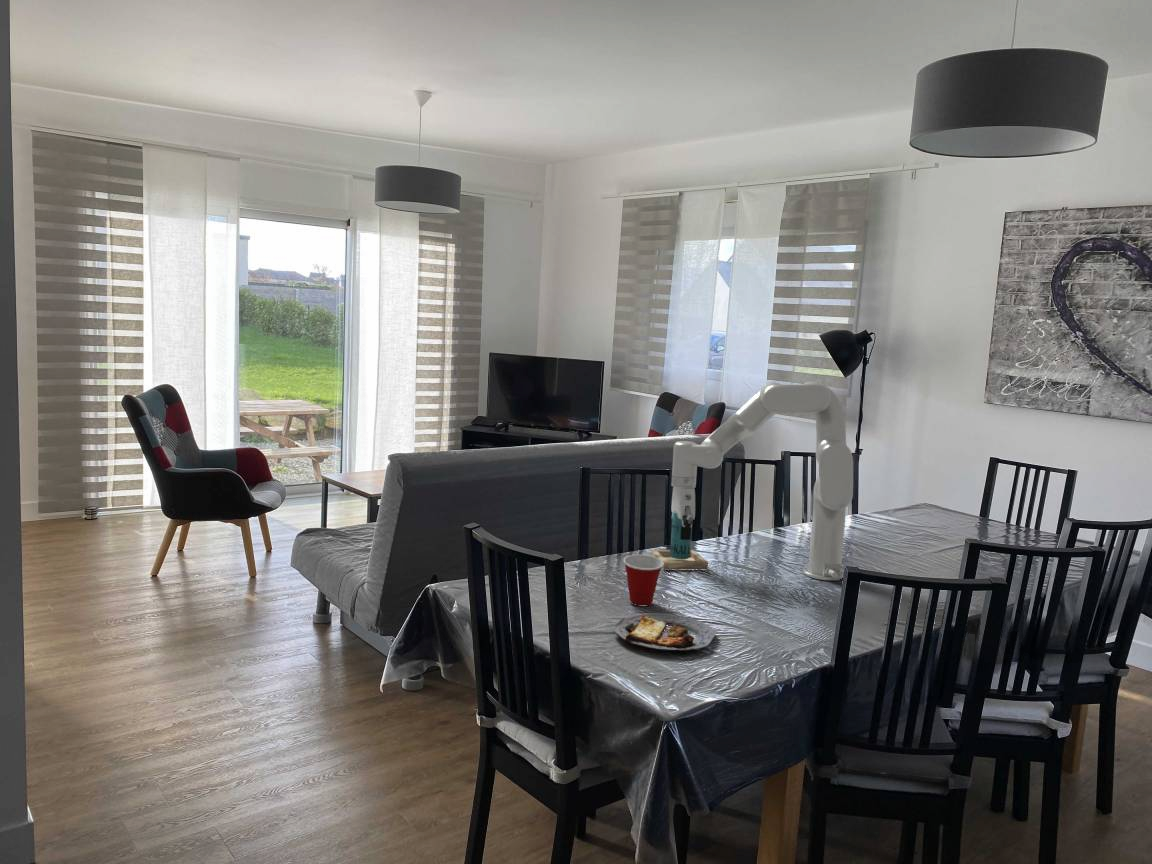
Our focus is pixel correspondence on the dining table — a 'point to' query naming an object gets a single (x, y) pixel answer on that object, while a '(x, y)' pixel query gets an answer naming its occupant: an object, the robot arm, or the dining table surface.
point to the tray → (680, 560)
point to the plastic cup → (642, 577)
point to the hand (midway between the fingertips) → (680, 535)
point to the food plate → (651, 626)
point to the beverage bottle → (679, 540)
